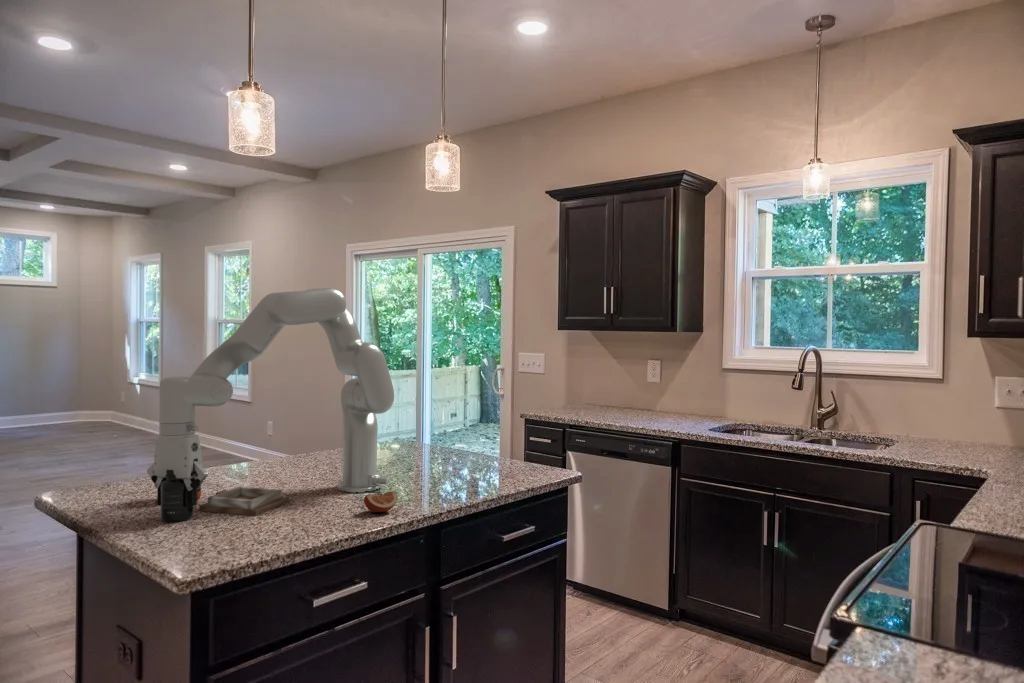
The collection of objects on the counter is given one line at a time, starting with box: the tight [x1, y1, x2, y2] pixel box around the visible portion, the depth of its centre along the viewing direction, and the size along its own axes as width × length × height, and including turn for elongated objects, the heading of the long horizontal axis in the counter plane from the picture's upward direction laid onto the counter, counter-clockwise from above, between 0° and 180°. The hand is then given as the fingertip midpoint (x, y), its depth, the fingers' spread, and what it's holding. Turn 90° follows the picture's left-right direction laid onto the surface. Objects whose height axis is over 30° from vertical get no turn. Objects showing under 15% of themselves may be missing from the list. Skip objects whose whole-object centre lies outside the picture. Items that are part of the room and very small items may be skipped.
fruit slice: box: [363, 490, 398, 513], centre depth 165 cm, size 8×7×5 cm
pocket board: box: [198, 486, 290, 516], centre depth 169 cm, size 16×14×3 cm
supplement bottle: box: [160, 470, 194, 523], centre depth 156 cm, size 7×7×12 cm
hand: (177, 504), depth 156 cm, fingers closed on supplement bottle, 6 cm apart
